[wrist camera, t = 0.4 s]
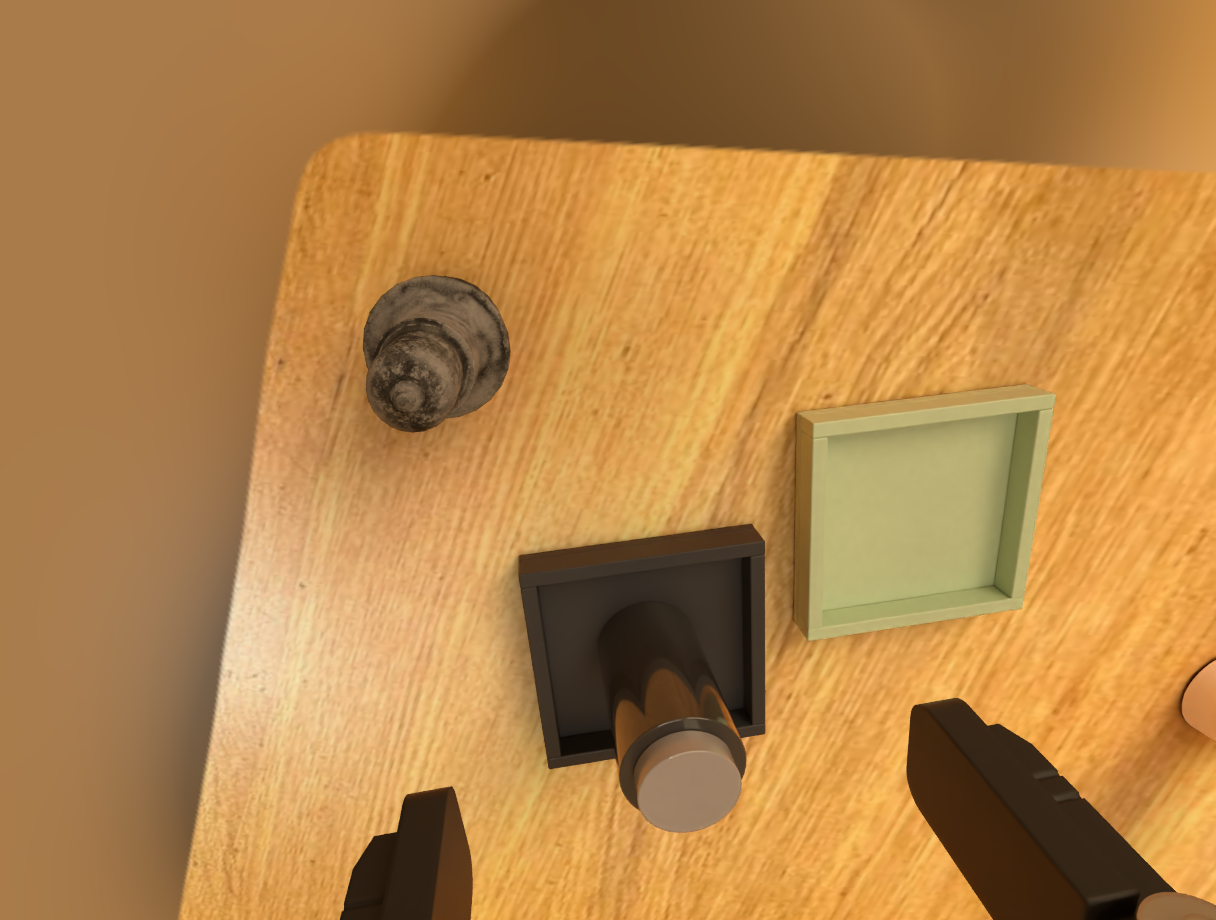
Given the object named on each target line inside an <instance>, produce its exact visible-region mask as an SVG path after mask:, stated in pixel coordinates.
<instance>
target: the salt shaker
mask: <svg viewBox="0 0 1216 920" xmlns="http://www.w3.org/2000/svg"><path fill="white" fill-rule="evenodd" d="M363 351H364V355H365V360H366V365H367V368H368V373H367V378H366V392H367V397H368V401H369V403H370V405H371V407H372V409H373V411H374V412H375V413H376V415H377V416H378V417H379V418H380V419H381V420H382V421H383V422H385V423H386V424H388V425H389V426H391V427H393V428H395V429H398V430H400V431H405V432H421V431H426V430H428V429H431V428H433V427H436V426H437V425H439V424H440V423H441V422H443V421H444V420H445V419H446V418H454V417H460V416H463V415H465V414H468V413H471V412H473V411H476V410H477V409H478V408H480V407H481V406H483V405H484V404H485V403H487V402H488V401H489V400H491V398H492V397H493V396H494V394H495V393H496V392H497V391H498V389H499V388H500V387H501V385H502V383H503V381H504V378H505V376H506V373H507V371H508V366H509V359H510V344H509V337H508V332H507V329H506V327H505V325H504V322H503V320H502V317H501V315H500V313H499V311H498V309H497V307H496V306H495V304H494V303H493V302H492V300H491V299H490V298H489V296H488V295H487V294H485V293H484V292H483V291H482V290H480V289H479V288H478V287H477V286H475V285H473V284H471V283H469V282H466V281H464V280H462V279H458V278H452V277H446V276H443V277H442V276H436V275H432V276H422V277H414V278H412V279H409V280H407V281H404V282H401V283H399V284H396V285H395V286H394V287H393V288H391V289H390V290H389V291H387V292H386V293H385V294H383V295H382V296H381V297H380V299H379V300H378V301H377V303H376V304H375V306H374V307H373V308H372V310H371V311H370V314H369V316H368V319H367V322H366V325H365V328H364V338H363Z"/></svg>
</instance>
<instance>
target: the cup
mask: <svg viewBox="0 0 1216 920" xmlns="http://www.w3.org/2000/svg"><path fill="white" fill-rule="evenodd" d="M1182 714H1183V716H1184V719H1185V721H1186V722H1187V723H1188V724H1190V725H1191V726H1192V727H1193V728H1195V729H1197V730H1198V731H1200V732H1201V733H1203V734H1204V735H1206V736H1208V737H1209V738H1211V739H1212V740H1214V741H1215V742H1216V660H1215V661H1213V662H1212V663H1210V664H1209V665H1208V666H1206V667H1205V668H1204V669H1203V670H1202V671H1200V672H1199V673H1198V674H1197V676H1196V677H1195V678H1194V679H1193V680H1192V682H1191V683H1190V685H1189V686H1188V688H1187V690H1186V692H1185V694H1184V698H1183V701H1182Z"/></svg>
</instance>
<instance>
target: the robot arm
mask: <svg viewBox="0 0 1216 920" xmlns="http://www.w3.org/2000/svg"><path fill="white" fill-rule="evenodd" d="M906 772H907V780H908V784H909V788H910V791H911V794H912V796H913V799H914V801H915V803H916V805H917V807H918V808H919V810H920V812H921V813H922V815H923V816H924V818H925V819H926V821H927V822H928V824H929V825H930V827H931V828H932V829H933V831H934V832H935V834H936V835H937V837H938V838H939V840H940V841H941V843H942V844H943V846H944V847H945V849H946V850H947V852H948V853H949V855H950V856H951V858H952V859H953V861H954V862H955V864H956V865H957V867H958V868H959V870H960V871H961V873H962V874H963V876H964V877H965V879H966V880H967V881H968V883H969V884H970V886H971V887H972V889H973V890H974V892H975V893H976V895H977V896H978V898H979V899H980V901H981V902H982V904H983V905H984V907H985V908H986V910H987V911H988V913H989V914H990V916H991V917H992V919H993V920H1216V905H1214V904H1212V903H1210V902H1207V901H1205V900H1202V899H1200V898H1197V897H1194V896H1190V895H1186V894H1182V893H1177V892H1176V891H1175V890H1174V889H1173V888H1172V887H1171V886H1170V885H1169V884H1167V883H1166V882H1165V881H1164V880H1163V879H1162V877H1161V876H1160V875H1159V874H1158V873H1157V872H1156V871H1155V870H1154V869H1153V868H1152V867H1151V866H1150V865H1149V864H1148V863H1147V862H1146V861H1145V860H1144V859H1143V858H1142V857H1141V856H1140V855H1139V854H1138V853H1137V852H1136V851H1135V850H1134V849H1133V848H1132V847H1131V846H1130V845H1129V844H1128V843H1127V841H1126V840H1125V839H1124V838H1123V837H1122V836H1121V835H1120V834H1119V833H1118V832H1117V831H1116V830H1115V829H1114V828H1113V827H1112V826H1111V825H1110V824H1109V823H1108V822H1107V821H1106V820H1105V819H1104V818H1103V817H1102V816H1101V815H1100V814H1099V813H1098V812H1097V811H1096V810H1095V809H1094V808H1093V806H1092V805H1091V804H1090V803H1089V802H1088V801H1087V800H1086V799H1085V798H1083V799H1082V798H1081V797H1080V796H1079V792H1078V791H1077V790H1076V789H1075V788H1074V787H1073V786H1072V785H1071V784H1070V783H1069V782H1068V781H1067V780H1066V779H1065V778H1064V777H1063V776H1059V774H1058V770H1057V769H1056V768H1055V767H1054V766H1053V765H1052V764H1051V763H1050V762H1049V761H1048V760H1047V759H1046V758H1045V757H1044V756H1043V755H1042V754H1041V753H1040V752H1039V751H1038V750H1037V749H1036V748H1035V747H1034V746H1033V745H1032V744H1031V743H1029V742H1028V741H1026V740H1024V739H1023V738H1021V737H1019V736H1018V735H1016V734H1015V733H1013V732H1011V731H1010V730H1008V729H1006V728H1005V727H1003V726H1002V725H1000V724H995V725H989V726H987V725H986V724H985V723H984V722H983V721H982V719H981V718H980V717H979V716H978V715H977V714H976V713H975V712H974V711H973V710H972V709H971V708H970V706H969V705H968V704H967V703H966V702H964V701H963V700H961V699H959V698H952V699H947V700H941V701H935V702H930V703H924V704H919V705H915V706H914V707H913V708H912V711H911V717H910V730H909V743H908V755H907V771H906ZM472 890H473V878H472V863H471V855H470V850H469V845H468V841H467V837H466V833H465V829H464V825H463V821H462V817H461V813H460V810H459V806H458V802H457V798H456V794H455V791H454V789H453V787H452V786H451V787H445V788H440V789H434V790H429V791H423V792H418V793H412V794H407V795H406V797H405V799H404V801H403V805H402V810H401V815H400V820H399V825H398V830H397V832H395V833H390V834H384V835H379V836H374V837H373V839H372V840H371V842H370V843H369V845H368V847H367V848H366V850H365V851H364V853H363V854H362V856H361V857H360V859H359V860H358V862H357V864H356V865H355V867H354V868H353V871H352V875H351V879H350V883H349V886H348V890H347V894H346V898H345V902H344V911H342V913H341V917H340V920H470V919H471V906H472Z"/></svg>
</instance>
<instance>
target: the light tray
mask: <svg viewBox="0 0 1216 920" xmlns="http://www.w3.org/2000/svg"><path fill="white" fill-rule="evenodd" d="M1055 398H1056V394H1055V393H1052V392H1049V391H1046V390H1043V389H1040V388H1037V387H1034V386H1031V385H1028V384H1023V385H1015V386H1006V387H998V388H990V389H982V390H974V391H965V392H957V393H949V394H941V395H933V396H924V397H916V398H908V399H900V400H892V401H884V402H875V403H867V404H859V405H851V406H843V407H834V408H826V409H818V410H810V411H802V412H797V421H796V491H795V562H794V621H795V623H796V624H797V625H798V627H799V628H800V630H801V631H802V633H803V634H804V636H805V637H806V639H807V640H808V641H814V640H820V639H827V638H833V637H840V636H846V635H853V634H859V633H866V632H873V631H879V630H886V629H892V628H899V627H905V626H912V625H919V624H925V623H932V622H938V621H945V620H951V619H958V618H965V617H971V616H978V615H984V614H991V613H997V612H1004V611H1011V610H1017V609H1022V607H1023V601H1024V597H1023V596H1024V594H1025V588H1026V582H1027V575H1028V569H1029V563H1030V556H1031V550H1032V544H1033V537H1034V531H1035V525H1036V518H1037V512H1038V506H1039V499H1040V493H1041V487H1042V480H1043V474H1044V468H1045V461H1046V455H1047V449H1048V443H1049V436H1050V430H1051V424H1052V417H1053V411H1054V410H1053V409H1052V408H1054V404H1055Z"/></svg>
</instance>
